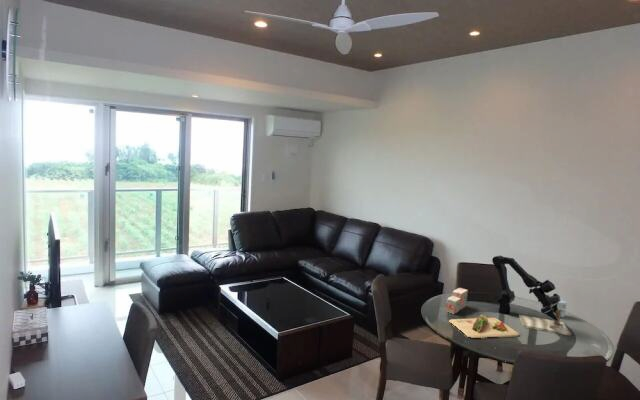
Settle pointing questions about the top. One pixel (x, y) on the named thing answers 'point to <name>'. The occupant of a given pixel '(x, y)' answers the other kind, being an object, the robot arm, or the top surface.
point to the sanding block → (557, 322)
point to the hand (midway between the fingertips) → (558, 318)
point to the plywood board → (541, 324)
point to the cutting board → (483, 327)
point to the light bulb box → (562, 307)
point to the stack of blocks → (457, 300)
